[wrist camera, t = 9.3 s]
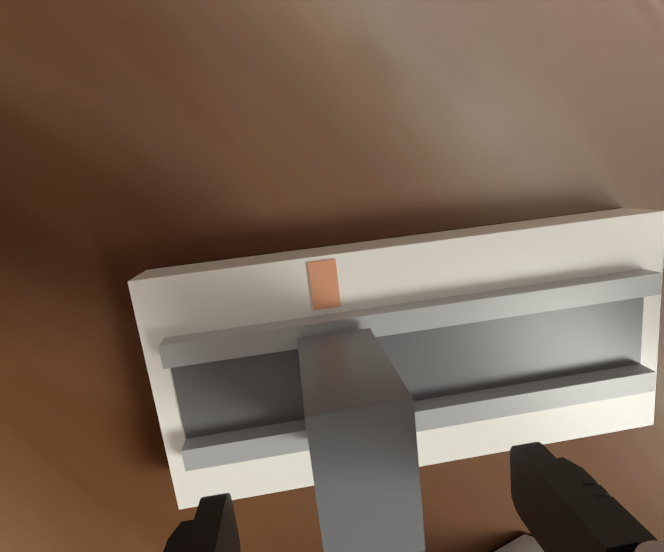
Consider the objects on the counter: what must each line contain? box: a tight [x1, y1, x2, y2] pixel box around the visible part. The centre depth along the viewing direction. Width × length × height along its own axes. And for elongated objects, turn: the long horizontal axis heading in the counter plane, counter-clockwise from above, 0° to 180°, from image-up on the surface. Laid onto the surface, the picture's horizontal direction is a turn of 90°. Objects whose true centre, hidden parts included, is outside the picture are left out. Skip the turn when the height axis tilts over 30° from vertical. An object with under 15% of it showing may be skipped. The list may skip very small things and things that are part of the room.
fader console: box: [127, 208, 664, 509], centre depth 20 cm, size 24×11×4 cm, turn 97°
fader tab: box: [297, 328, 425, 552], centre depth 15 cm, size 3×5×7 cm, turn 7°
